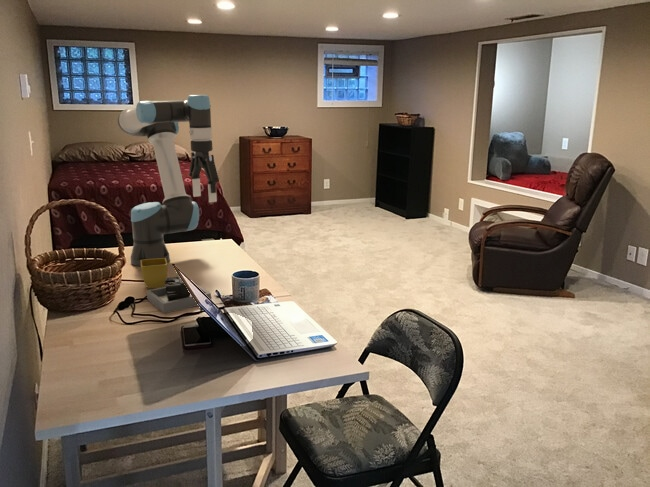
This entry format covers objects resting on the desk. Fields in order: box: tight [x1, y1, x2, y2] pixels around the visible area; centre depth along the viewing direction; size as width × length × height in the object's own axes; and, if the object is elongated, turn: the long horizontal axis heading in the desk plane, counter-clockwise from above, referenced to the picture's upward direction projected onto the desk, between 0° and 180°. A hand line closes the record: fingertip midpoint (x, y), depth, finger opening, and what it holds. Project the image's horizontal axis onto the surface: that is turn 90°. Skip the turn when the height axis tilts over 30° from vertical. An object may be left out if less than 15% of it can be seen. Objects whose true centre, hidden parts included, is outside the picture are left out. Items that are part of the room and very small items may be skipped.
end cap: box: [165, 274, 190, 302], centre depth 186 cm, size 10×7×7 cm
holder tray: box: [146, 282, 212, 314], centre depth 187 cm, size 15×16×3 cm
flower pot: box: [140, 258, 168, 289], centre depth 200 cm, size 9×9×9 cm
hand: (204, 199), depth 207 cm, fingers open, 13 cm apart
